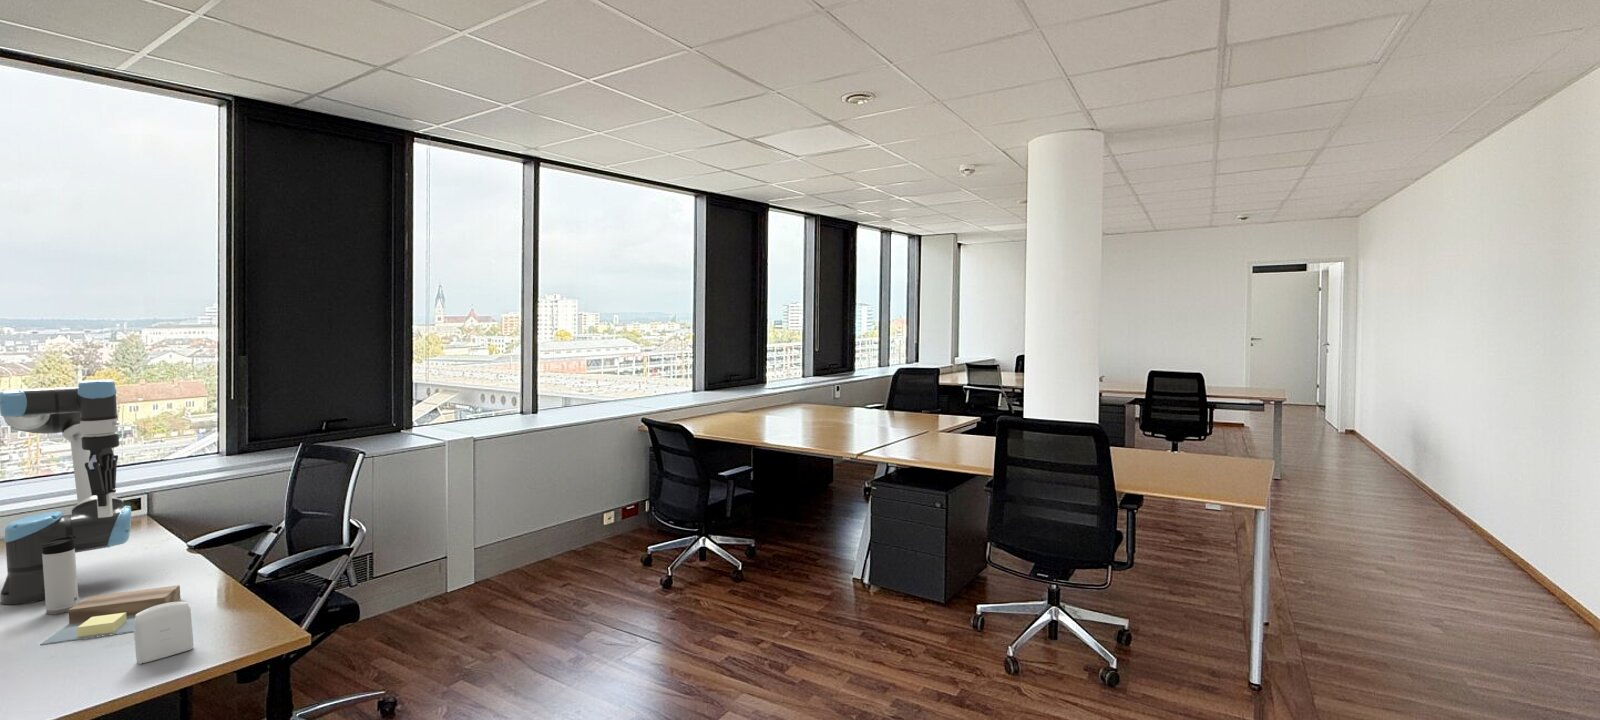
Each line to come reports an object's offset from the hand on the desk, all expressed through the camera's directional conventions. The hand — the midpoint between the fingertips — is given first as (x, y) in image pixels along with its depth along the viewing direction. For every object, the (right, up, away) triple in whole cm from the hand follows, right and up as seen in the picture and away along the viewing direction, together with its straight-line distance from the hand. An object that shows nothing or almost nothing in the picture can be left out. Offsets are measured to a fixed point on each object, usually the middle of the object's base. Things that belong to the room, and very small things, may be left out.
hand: (105, 516), depth 202 cm
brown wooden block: (+12, -25, -7) cm, 28 cm away
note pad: (+18, -23, -19) cm, 34 cm away
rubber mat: (+17, -25, -17) cm, 35 cm away
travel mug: (-7, -25, -5) cm, 26 cm away
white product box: (+47, -26, -33) cm, 63 cm away
